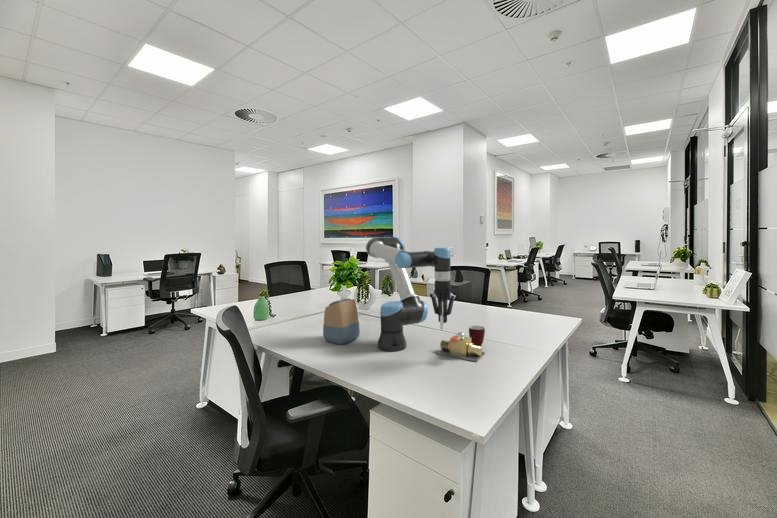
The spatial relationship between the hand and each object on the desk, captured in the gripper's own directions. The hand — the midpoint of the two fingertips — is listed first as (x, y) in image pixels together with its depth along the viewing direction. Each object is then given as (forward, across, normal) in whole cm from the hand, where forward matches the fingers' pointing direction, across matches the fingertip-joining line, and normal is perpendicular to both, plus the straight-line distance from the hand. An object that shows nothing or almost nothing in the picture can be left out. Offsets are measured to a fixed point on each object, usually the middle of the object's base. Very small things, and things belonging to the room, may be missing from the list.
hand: (442, 328), depth 163 cm
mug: (+14, +9, +22) cm, 27 cm away
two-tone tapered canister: (+13, -60, -5) cm, 61 cm away
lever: (+6, +6, +3) cm, 9 cm away
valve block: (+14, +6, +8) cm, 17 cm away
